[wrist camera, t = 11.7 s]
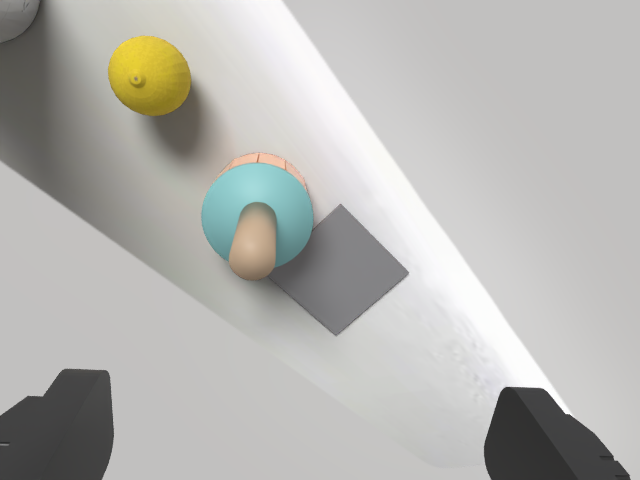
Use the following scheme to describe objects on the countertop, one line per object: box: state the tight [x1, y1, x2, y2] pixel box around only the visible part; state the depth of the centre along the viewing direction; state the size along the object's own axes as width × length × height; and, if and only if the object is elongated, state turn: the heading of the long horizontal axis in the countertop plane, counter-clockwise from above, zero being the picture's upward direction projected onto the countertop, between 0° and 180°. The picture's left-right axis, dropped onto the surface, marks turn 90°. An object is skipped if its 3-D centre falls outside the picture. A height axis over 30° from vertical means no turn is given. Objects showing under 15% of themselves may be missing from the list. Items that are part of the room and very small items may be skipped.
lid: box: [202, 162, 313, 280], centre depth 34 cm, size 9×9×9 cm
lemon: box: [108, 36, 191, 116], centre depth 34 cm, size 6×6×8 cm
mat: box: [267, 204, 409, 335], centre depth 45 cm, size 10×10×1 cm
